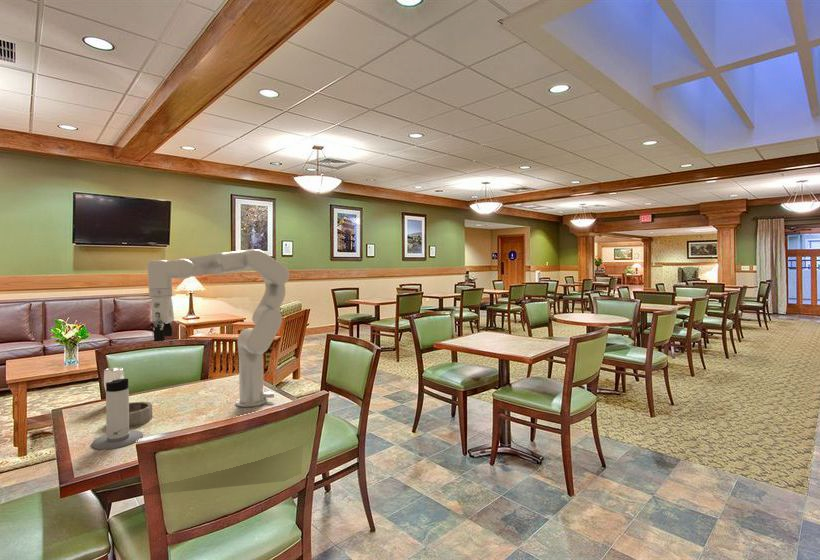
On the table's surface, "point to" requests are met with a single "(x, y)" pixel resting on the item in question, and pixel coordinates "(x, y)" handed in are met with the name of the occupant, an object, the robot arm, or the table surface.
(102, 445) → the mat
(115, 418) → the travel mug
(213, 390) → the table surface
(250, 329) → the robot arm
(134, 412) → the collar
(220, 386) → the table surface
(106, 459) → the table surface
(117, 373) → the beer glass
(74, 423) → the table surface
